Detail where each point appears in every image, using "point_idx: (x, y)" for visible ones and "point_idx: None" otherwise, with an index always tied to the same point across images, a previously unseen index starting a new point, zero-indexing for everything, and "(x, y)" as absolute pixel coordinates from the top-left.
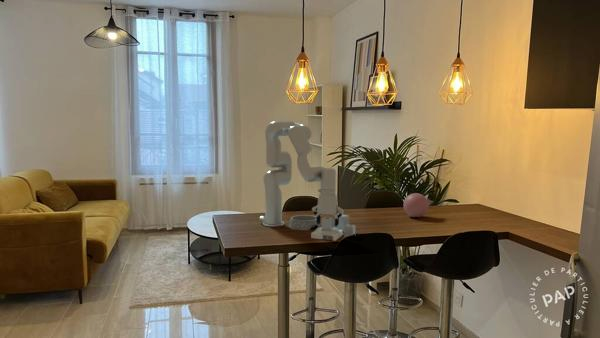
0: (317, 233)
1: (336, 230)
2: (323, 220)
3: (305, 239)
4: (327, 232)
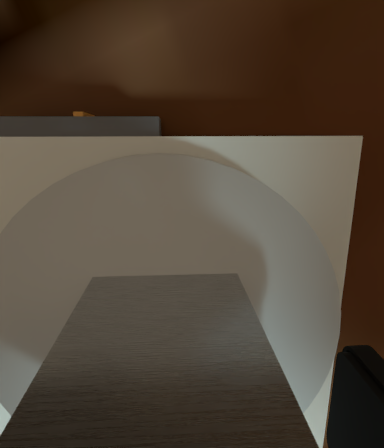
0: (265, 160)
1: (16, 357)
2: (240, 409)
3: (380, 28)
4: (91, 175)
